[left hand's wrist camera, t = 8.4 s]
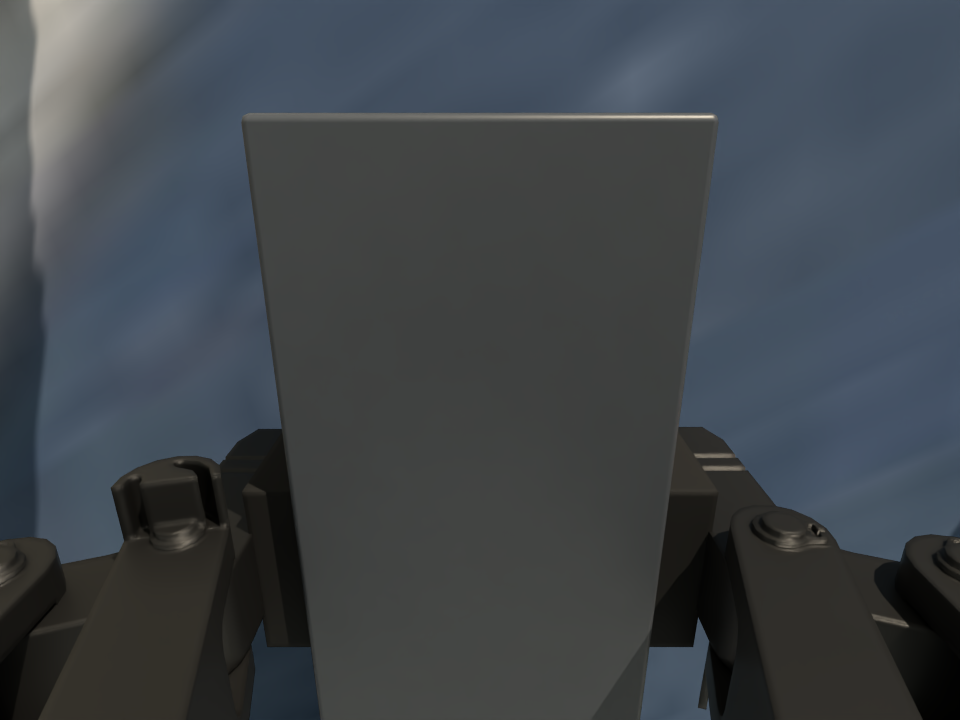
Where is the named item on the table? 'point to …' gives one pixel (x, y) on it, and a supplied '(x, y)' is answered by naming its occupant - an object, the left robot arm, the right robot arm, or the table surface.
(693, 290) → the beam
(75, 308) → the table surface
